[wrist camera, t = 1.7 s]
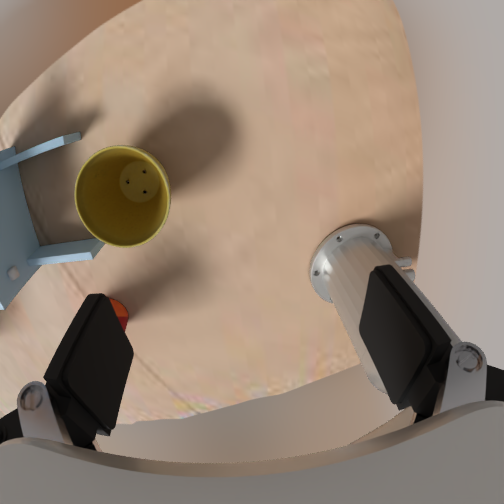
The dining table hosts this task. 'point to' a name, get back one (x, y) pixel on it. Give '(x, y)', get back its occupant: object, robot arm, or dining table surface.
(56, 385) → the robot arm
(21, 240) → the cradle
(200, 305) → the dining table surface
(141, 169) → the flower pot
